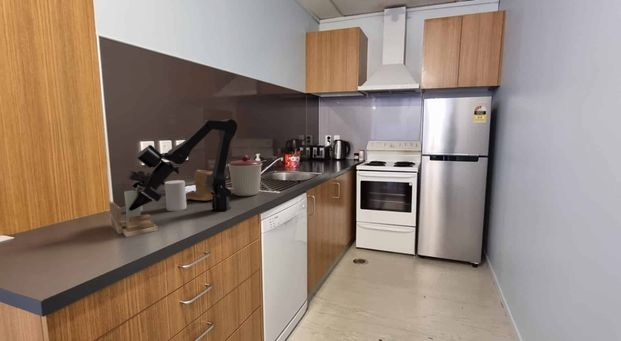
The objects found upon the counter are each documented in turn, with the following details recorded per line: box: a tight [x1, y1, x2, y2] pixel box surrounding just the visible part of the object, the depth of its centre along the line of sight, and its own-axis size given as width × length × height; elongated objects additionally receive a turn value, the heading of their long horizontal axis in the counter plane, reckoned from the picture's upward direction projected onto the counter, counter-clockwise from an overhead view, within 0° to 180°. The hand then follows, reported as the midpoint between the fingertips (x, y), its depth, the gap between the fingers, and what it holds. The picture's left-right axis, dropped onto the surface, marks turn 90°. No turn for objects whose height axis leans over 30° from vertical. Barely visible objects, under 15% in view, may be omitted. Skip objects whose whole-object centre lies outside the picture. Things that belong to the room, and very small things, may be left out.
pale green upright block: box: [123, 189, 142, 221], centre depth 114 cm, size 4×3×13 cm
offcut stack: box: [124, 213, 155, 232], centre depth 109 cm, size 8×4×4 cm, turn 132°
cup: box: [164, 179, 187, 212], centre depth 140 cm, size 8×8×12 cm
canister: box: [227, 154, 263, 197], centre depth 168 cm, size 18×18×21 cm
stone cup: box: [186, 169, 214, 202], centre depth 157 cm, size 15×12×15 cm
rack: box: [108, 201, 159, 238], centre depth 112 cm, size 11×17×9 cm, turn 42°
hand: (128, 209), depth 114 cm, fingers closed on pale green upright block, 3 cm apart
